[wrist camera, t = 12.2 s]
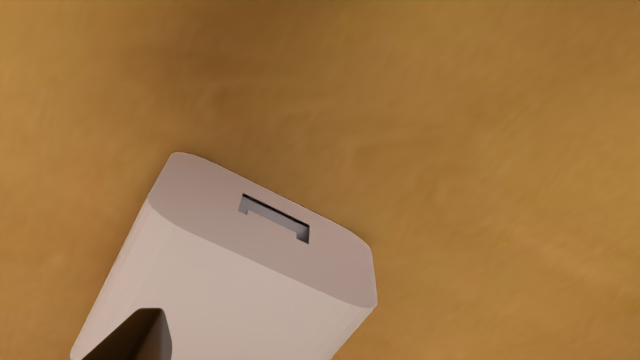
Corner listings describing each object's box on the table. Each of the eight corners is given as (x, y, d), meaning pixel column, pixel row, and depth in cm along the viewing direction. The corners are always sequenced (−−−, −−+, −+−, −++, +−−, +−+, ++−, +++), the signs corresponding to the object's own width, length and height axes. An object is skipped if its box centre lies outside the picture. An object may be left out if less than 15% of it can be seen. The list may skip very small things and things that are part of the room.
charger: (66, 364, 27) (177, 143, 21) (226, 422, 29) (371, 239, 23) (20, 450, 23) (140, 208, 17) (210, 509, 25) (380, 317, 19)
